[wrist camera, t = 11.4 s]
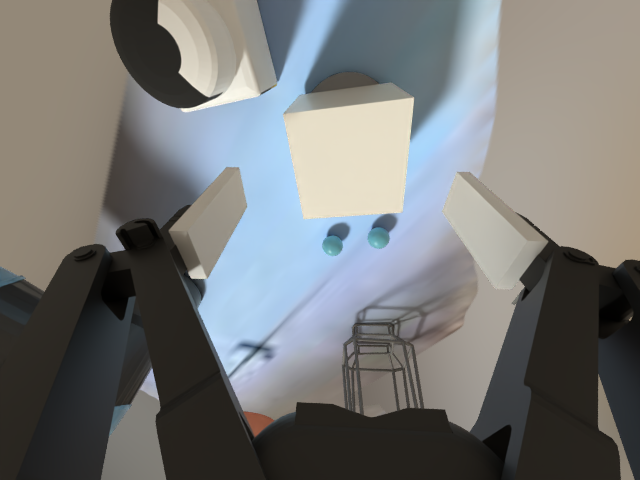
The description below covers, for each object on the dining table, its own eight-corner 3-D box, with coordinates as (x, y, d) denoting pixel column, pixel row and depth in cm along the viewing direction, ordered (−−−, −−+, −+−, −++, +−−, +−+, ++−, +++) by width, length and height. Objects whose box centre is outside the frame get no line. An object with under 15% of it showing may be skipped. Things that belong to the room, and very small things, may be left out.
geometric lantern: (416, 314, 47) (523, 687, 20) (402, 354, 57) (461, 638, 29) (335, 312, 48) (329, 659, 21) (335, 351, 58) (332, 622, 31)
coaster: (303, 169, 30) (302, 171, 29) (298, 71, 24) (297, 71, 23) (384, 171, 29) (385, 174, 29) (402, 72, 23) (403, 72, 22)
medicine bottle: (215, 99, 26) (144, 129, 16) (179, 8, 21) (53, -22, 12) (279, 85, 24) (241, 108, 15) (254, -14, 20) (180, -67, 11)
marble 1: (327, 242, 33) (347, 245, 34) (323, 230, 35) (342, 232, 36) (321, 259, 35) (341, 261, 35) (318, 246, 37) (336, 248, 38)
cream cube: (312, 178, 30) (303, 219, 23) (299, 94, 24) (283, 114, 17) (386, 171, 29) (402, 212, 22) (391, 82, 23) (414, 97, 16)
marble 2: (368, 234, 32) (363, 228, 35) (373, 254, 33) (368, 247, 36) (389, 227, 32) (383, 222, 35) (394, 247, 33) (387, 240, 36)
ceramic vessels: (216, 409, 92) (193, 478, 77) (270, 412, 90) (257, 483, 76) (240, 435, 114) (226, 492, 99) (284, 437, 112) (276, 496, 97)
